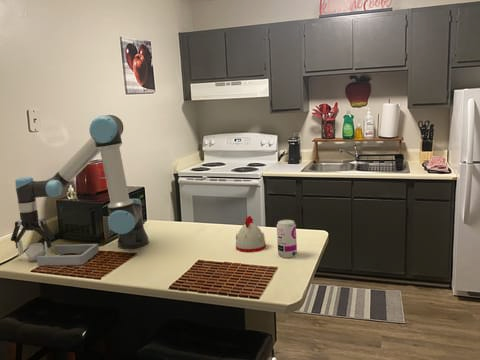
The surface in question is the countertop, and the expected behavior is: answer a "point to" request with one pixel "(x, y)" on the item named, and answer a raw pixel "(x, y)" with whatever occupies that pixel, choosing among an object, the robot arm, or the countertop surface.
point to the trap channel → (85, 254)
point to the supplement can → (286, 238)
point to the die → (35, 251)
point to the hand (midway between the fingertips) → (34, 254)
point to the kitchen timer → (250, 238)
